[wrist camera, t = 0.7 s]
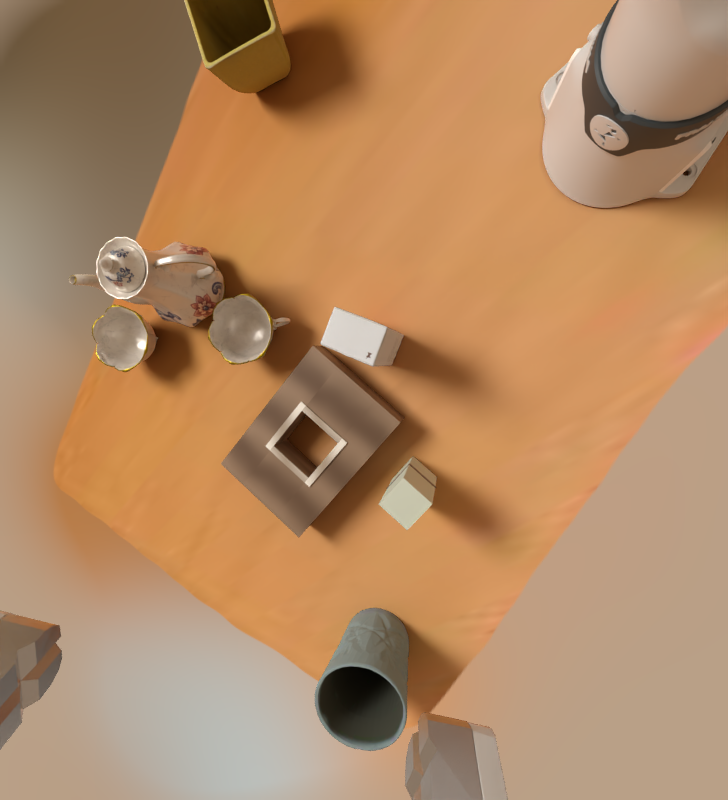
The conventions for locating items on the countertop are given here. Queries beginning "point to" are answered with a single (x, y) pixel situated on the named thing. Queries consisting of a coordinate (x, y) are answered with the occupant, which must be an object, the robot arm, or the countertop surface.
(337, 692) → the blue-grey embossed planter
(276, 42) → the flower pot
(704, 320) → the countertop surface
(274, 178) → the countertop surface
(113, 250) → the chinaware
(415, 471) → the sage peg
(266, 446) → the socket board
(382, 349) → the skincare box
